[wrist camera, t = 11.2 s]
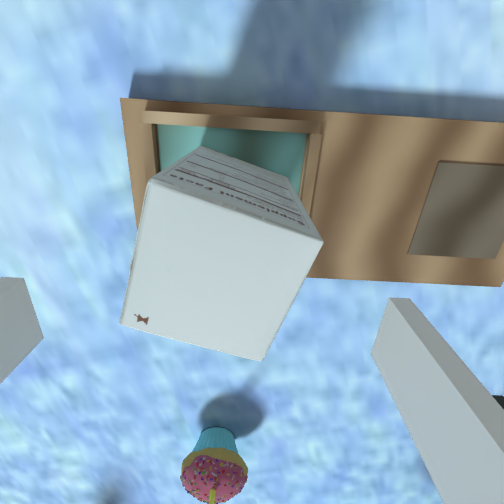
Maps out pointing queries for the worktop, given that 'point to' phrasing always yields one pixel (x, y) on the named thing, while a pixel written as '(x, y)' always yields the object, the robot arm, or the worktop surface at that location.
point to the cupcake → (214, 467)
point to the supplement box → (218, 254)
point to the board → (354, 182)
